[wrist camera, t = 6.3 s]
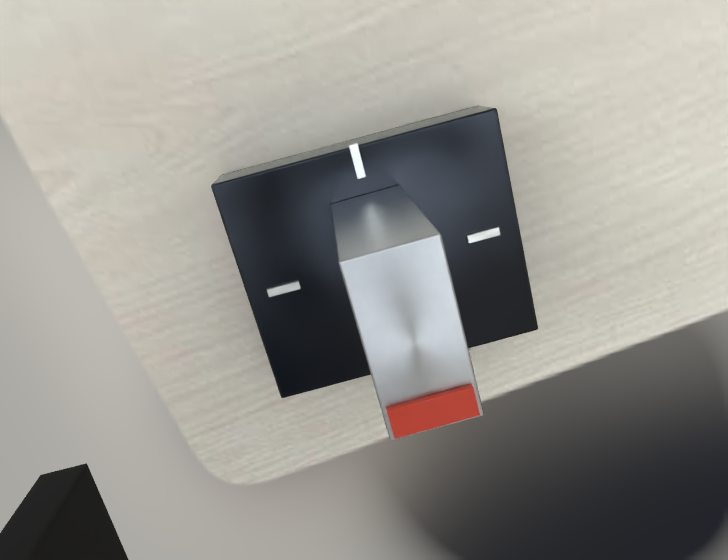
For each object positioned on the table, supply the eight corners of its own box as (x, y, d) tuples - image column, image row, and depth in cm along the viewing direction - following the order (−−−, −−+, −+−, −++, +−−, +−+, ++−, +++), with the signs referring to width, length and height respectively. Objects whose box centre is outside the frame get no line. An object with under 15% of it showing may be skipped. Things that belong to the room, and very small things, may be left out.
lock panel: (284, 372, 32) (281, 402, 29) (219, 172, 29) (208, 183, 26) (519, 309, 32) (540, 333, 29) (478, 102, 29) (497, 104, 26)
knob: (330, 204, 27) (338, 264, 18) (400, 184, 27) (442, 234, 18) (367, 334, 29) (391, 446, 20) (433, 315, 29) (486, 419, 20)
